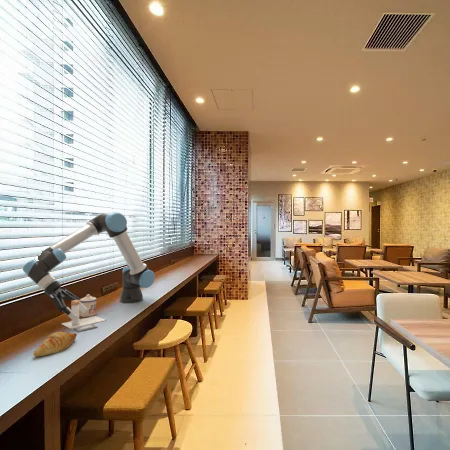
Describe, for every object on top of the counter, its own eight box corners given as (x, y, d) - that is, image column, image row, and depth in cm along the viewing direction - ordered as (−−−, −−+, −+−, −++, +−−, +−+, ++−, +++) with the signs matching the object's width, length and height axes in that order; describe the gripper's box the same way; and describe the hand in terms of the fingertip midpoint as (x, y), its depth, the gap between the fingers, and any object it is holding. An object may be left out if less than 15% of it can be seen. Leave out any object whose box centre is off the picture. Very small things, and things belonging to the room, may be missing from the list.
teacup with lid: (91, 317, 173) (91, 296, 174) (75, 317, 175) (75, 296, 175) (102, 311, 185) (102, 292, 185) (87, 311, 186) (87, 291, 187)
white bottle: (77, 323, 162) (77, 299, 162) (80, 324, 160) (80, 300, 160) (70, 324, 159) (69, 300, 159) (73, 326, 157) (73, 302, 157)
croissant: (40, 369, 118) (48, 351, 117) (21, 354, 120) (28, 336, 119) (80, 347, 138) (87, 331, 137) (63, 334, 141) (70, 319, 140)
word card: (91, 325, 160) (91, 323, 160) (97, 327, 156) (97, 326, 156) (73, 329, 153) (73, 328, 153) (78, 332, 149) (78, 330, 149)
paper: (95, 316, 175) (95, 316, 175) (105, 320, 167) (105, 320, 167) (61, 324, 162) (61, 323, 162) (70, 328, 154) (70, 328, 154)
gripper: (56, 286, 171) (84, 313, 172) (30, 295, 147) (64, 327, 147) (66, 276, 172) (94, 303, 172) (42, 284, 147) (75, 315, 148)
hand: (80, 314), depth 160 cm, fingers open, 12 cm apart
